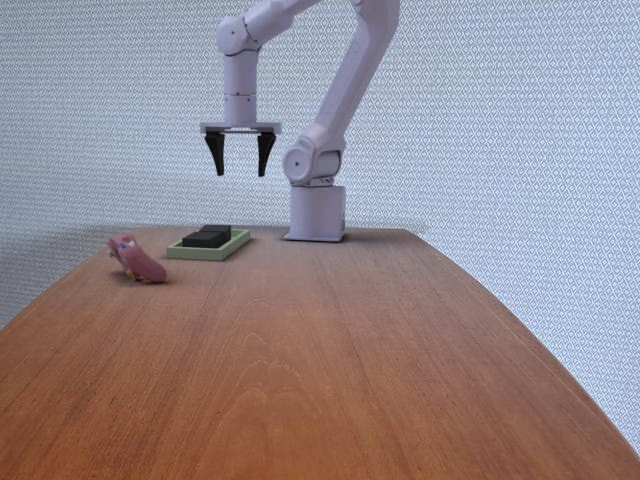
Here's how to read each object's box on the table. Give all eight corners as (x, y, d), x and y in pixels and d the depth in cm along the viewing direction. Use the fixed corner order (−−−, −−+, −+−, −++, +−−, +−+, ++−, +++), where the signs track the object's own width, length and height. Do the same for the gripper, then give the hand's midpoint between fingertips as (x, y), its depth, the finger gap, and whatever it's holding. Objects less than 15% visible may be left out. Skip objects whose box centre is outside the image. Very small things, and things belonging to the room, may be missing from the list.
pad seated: (195, 246, 108) (194, 231, 107) (221, 247, 107) (221, 232, 106) (182, 254, 102) (181, 238, 101) (210, 255, 101) (210, 239, 100)
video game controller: (122, 280, 95) (95, 237, 91) (149, 263, 96) (124, 220, 92) (141, 297, 87) (113, 251, 83) (171, 278, 87) (144, 231, 84)
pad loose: (205, 238, 114) (205, 224, 113) (231, 239, 113) (231, 224, 113) (198, 245, 108) (198, 230, 107) (225, 246, 108) (225, 231, 107)
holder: (202, 236, 118) (202, 227, 117) (250, 239, 116) (250, 229, 115) (166, 257, 102) (166, 247, 101) (221, 260, 100) (221, 249, 99)
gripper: (193, 95, 116) (195, 177, 121) (276, 95, 113) (275, 179, 117) (205, 95, 122) (207, 173, 127) (284, 95, 119) (283, 175, 124)
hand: (240, 176), depth 123 cm, fingers open, 7 cm apart
